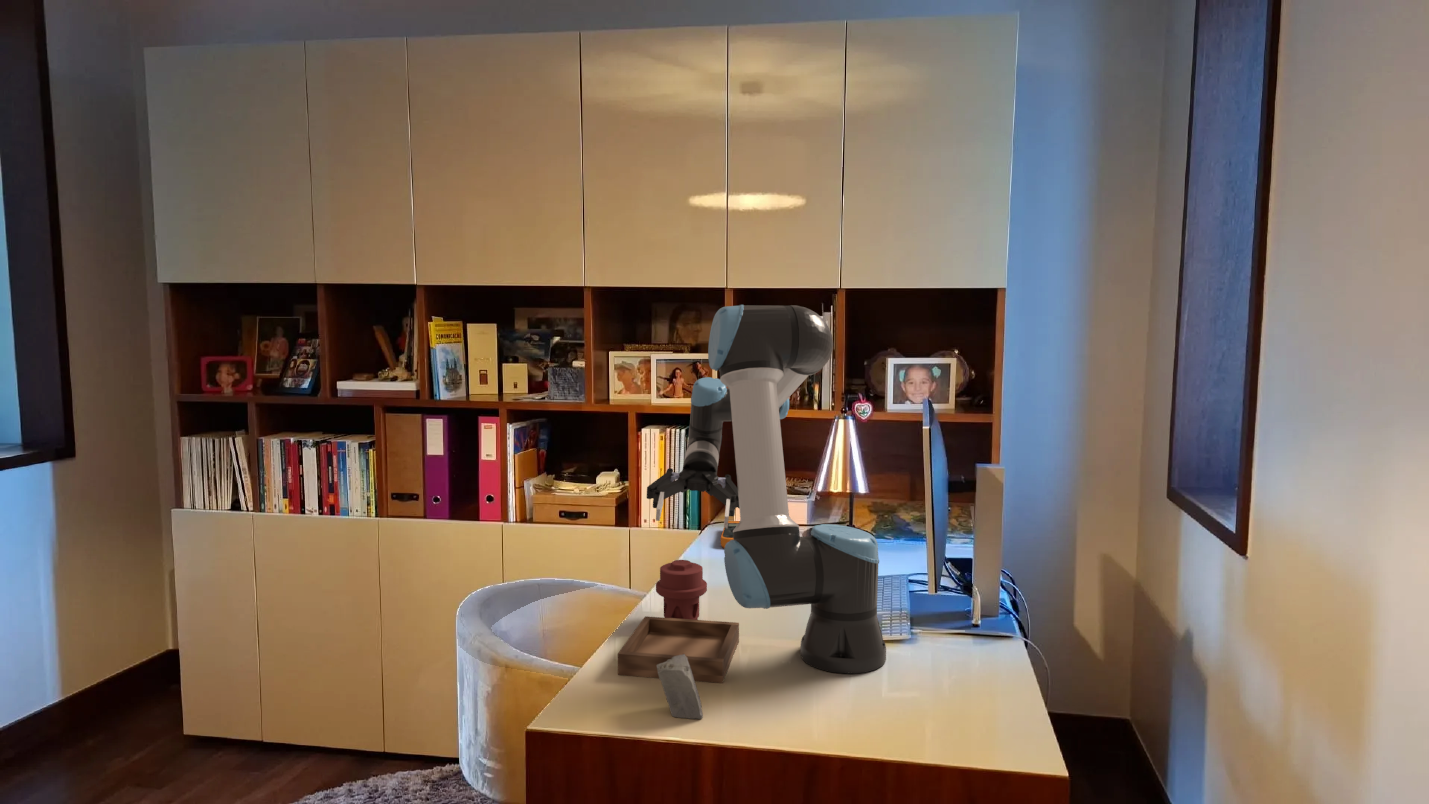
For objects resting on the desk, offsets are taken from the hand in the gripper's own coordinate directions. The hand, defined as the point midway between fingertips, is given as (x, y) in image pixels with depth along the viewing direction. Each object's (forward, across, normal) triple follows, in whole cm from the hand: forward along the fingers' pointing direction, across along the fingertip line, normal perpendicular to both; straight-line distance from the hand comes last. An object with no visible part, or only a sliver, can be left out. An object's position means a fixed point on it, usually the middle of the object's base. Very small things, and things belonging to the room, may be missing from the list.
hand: (692, 518), depth 173 cm
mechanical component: (+10, 0, -18) cm, 21 cm away
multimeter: (-48, -11, -38) cm, 62 cm away
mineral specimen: (+45, -3, -6) cm, 45 cm away
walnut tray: (+26, -1, -12) cm, 29 cm away
